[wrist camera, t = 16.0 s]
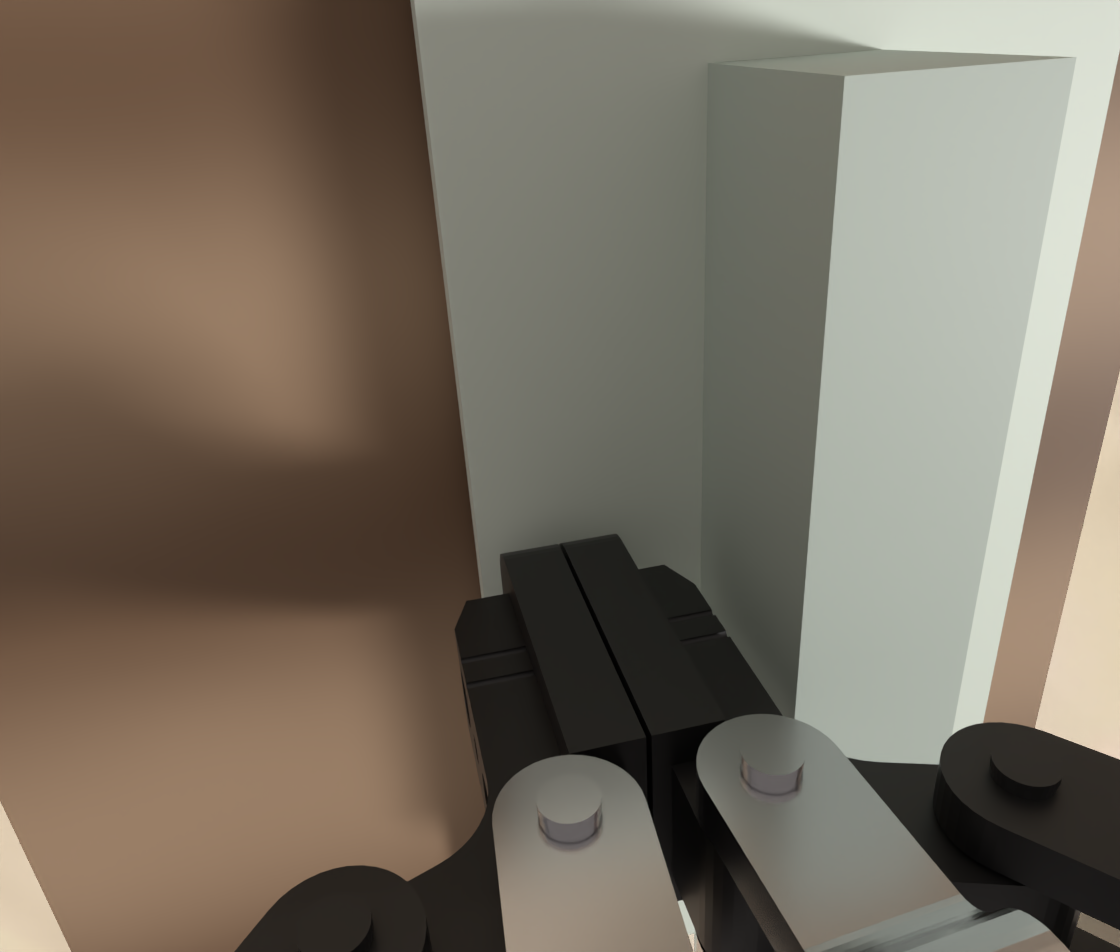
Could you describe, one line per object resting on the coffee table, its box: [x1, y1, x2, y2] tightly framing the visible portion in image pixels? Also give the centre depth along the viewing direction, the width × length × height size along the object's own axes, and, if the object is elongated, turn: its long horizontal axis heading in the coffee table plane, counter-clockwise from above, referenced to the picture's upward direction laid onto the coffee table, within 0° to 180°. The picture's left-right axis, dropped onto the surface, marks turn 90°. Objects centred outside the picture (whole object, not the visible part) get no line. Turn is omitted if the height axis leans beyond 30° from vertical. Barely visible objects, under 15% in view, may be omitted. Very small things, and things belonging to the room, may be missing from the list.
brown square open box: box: [0, 0, 1120, 952], centre depth 16 cm, size 17×17×6 cm
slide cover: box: [410, 0, 1120, 935], centre depth 11 cm, size 16×8×4 cm, turn 3°
